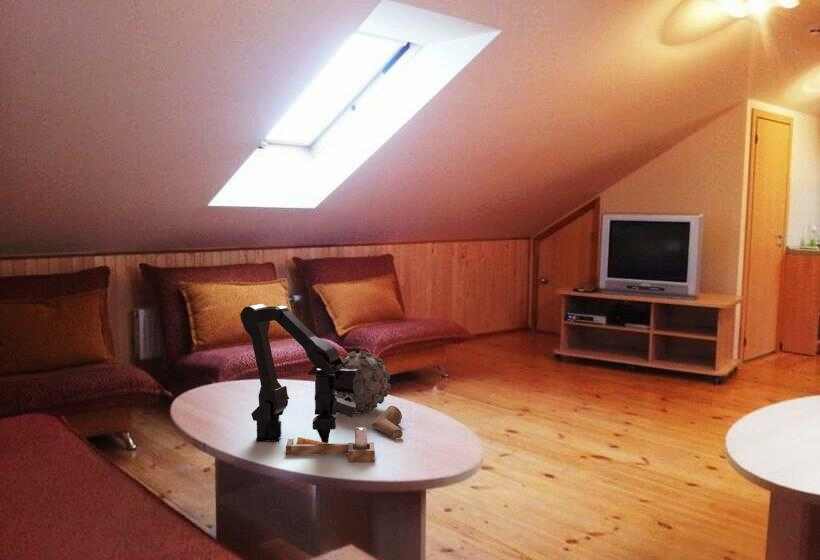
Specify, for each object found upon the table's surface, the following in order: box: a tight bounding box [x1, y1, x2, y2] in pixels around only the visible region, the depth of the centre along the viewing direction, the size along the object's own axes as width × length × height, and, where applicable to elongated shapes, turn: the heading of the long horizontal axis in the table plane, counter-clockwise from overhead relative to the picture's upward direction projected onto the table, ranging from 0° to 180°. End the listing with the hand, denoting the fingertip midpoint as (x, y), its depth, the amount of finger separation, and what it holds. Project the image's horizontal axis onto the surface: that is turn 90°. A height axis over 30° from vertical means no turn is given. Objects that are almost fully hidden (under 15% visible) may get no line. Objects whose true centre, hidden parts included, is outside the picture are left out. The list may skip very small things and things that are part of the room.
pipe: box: [371, 405, 403, 440], centre depth 216 cm, size 6×17×10 cm
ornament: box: [335, 350, 391, 414], centre depth 237 cm, size 20×20×20 cm
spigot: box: [354, 426, 368, 450], centre depth 193 cm, size 3×3×8 cm
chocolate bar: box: [295, 436, 330, 444], centre depth 202 cm, size 3×12×2 cm, turn 60°
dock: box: [285, 438, 376, 463], centre depth 195 cm, size 24×13×3 cm, turn 95°
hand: (325, 444), depth 202 cm, fingers closed
